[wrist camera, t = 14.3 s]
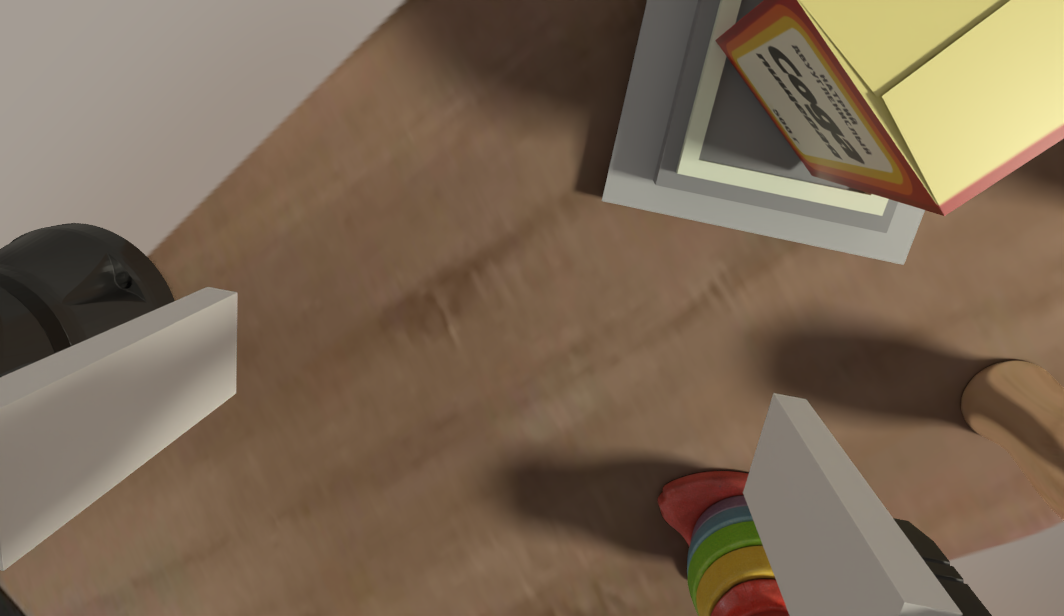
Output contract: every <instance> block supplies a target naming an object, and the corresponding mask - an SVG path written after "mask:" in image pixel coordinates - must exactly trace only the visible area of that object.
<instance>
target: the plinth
mask: <svg viewBox="0 0 1064 616" xmlns="http://www.w3.org/2000/svg"><path fill="white" fill-rule="evenodd" d="M762 1H763V0H647V3H646V7H645V12H644V16H643V21H642V25H641V30H640V34H639V38H638V43H637V47H636V52H635V56H634V61H633V65H632V69H631V74H630V78H629V83H628V87H627V92H626V96H625V100H624V105H623V109H622V114H621V118H620V122H619V127H618V131H617V136H616V140H615V145H614V149H613V153H612V158H611V162H610V167H609V171H608V176H607V180H606V184H605V189H604V193H603V198H602V201H605V202H609V203H614V204H619V205H624V206H628V207H633V208H638V209H642V210H647V211H652V212H657V213H661V214H666V215H671V216H675V217H680V218H685V219H690V220H694V221H699V222H704V223H708V224H713V225H718V226H723V227H727V228H732V229H737V230H742V231H746V232H751V233H756V234H760V235H765V236H770V237H775V238H779V239H784V240H789V241H793V242H798V243H803V244H808V245H812V246H817V247H822V248H826V249H831V250H836V251H841V252H845V253H850V254H855V255H859V256H864V257H869V258H874V259H878V260H883V261H888V262H892V263H897V264H902V265H904V263H905V260H906V257H907V255H908V252H909V250H910V247H911V245H912V242H913V240H914V237H915V234H916V232H917V229H918V227H919V224H920V222H921V219H922V216H923V214H924V211H925V210H923V209H920V208H917V207H913V206H910V205H907V204H903V203H900V202H897V201H893V200H890V199H887V198H884V197H880V196H877V195H874V194H870V193H867V192H864V191H861V190H857V189H854V188H851V187H847V186H844V185H841V184H837V183H834V182H831V181H828V180H824V179H821V178H818V177H814V176H812V175H811V174H810V172H809V171H808V170H807V168H806V167H805V165H804V164H803V163H802V161H801V160H800V158H799V157H798V156H797V154H796V153H795V151H794V150H793V149H792V147H791V146H790V144H789V143H788V142H787V140H786V139H785V137H784V136H783V135H782V133H781V132H780V130H779V129H778V128H777V126H776V125H775V123H774V122H773V121H772V119H771V118H770V116H769V115H768V114H767V112H766V111H765V109H764V108H763V107H762V105H761V104H760V102H759V101H758V100H757V98H756V97H755V95H754V94H753V93H752V91H751V90H750V88H749V87H748V86H747V84H746V83H745V81H744V80H743V79H742V77H741V76H740V74H739V73H738V72H737V70H736V69H735V67H734V66H733V64H732V63H731V62H730V60H729V59H728V57H727V56H726V55H725V53H724V52H723V50H722V49H721V48H720V46H719V45H718V43H717V42H716V41H715V40H716V39H717V38H719V37H720V36H721V35H722V34H723V33H725V32H726V31H727V30H728V29H730V28H731V27H732V26H733V25H734V24H736V23H737V22H738V21H739V20H740V19H742V18H743V17H744V16H745V15H747V14H748V13H749V12H750V11H751V10H753V9H754V8H755V7H756V6H757V5H759V4H760V3H761V2H762Z"/></svg>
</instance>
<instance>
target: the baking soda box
mask: <svg viewBox="0 0 1064 616" xmlns="http://www.w3.org/2000/svg"><path fill="white" fill-rule="evenodd" d="M715 41H716V42H717V43H718V45H719V46H720V48H721V49H722V50H723V52H724V53H725V55H726V56H727V57H728V59H729V60H730V62H731V63H732V64H733V66H734V67H735V69H736V70H737V72H738V73H739V74H740V76H741V77H742V79H743V80H744V81H745V83H746V84H747V86H748V87H749V88H750V90H751V91H752V93H753V94H754V95H755V97H756V98H757V100H758V101H759V102H760V104H761V105H762V107H763V108H764V109H765V111H766V112H767V114H768V115H769V116H770V118H771V119H772V121H773V122H774V123H775V125H776V126H777V128H778V129H779V130H780V132H781V133H782V135H783V136H784V137H785V139H786V140H787V142H788V143H789V144H790V146H791V147H792V149H793V150H794V151H795V153H796V154H797V156H798V157H799V158H800V160H801V161H802V163H803V164H804V165H805V167H806V168H807V170H808V171H809V172H810V174H811V175H812V176H814V177H818V178H821V179H824V180H828V181H831V182H834V183H837V184H841V185H844V186H847V187H851V188H854V189H857V190H861V191H864V192H867V193H870V194H874V195H877V196H880V197H884V198H887V199H890V200H893V201H897V202H900V203H903V204H907V205H910V206H913V207H917V208H920V209H923V210H926V211H930V212H933V213H936V214H940V215H943V216H945V215H947V214H948V213H950V212H951V211H953V210H954V209H956V208H957V207H959V206H961V205H962V204H964V203H965V202H967V201H968V200H970V199H971V198H973V197H974V196H976V195H977V194H979V193H981V192H982V191H984V190H985V189H987V188H988V187H990V186H991V185H993V184H994V183H996V182H997V181H999V180H1001V179H1002V178H1004V177H1005V176H1007V175H1008V174H1010V173H1011V172H1013V171H1014V170H1016V169H1017V168H1019V167H1021V166H1022V165H1024V164H1025V163H1027V162H1028V161H1030V160H1031V159H1033V158H1034V157H1036V156H1037V155H1039V154H1041V153H1042V152H1044V151H1045V150H1047V149H1048V148H1050V147H1051V146H1053V145H1054V144H1056V143H1057V142H1059V141H1060V140H1062V139H1064V0H763V1H762V2H761V3H760V4H759V5H757V6H756V7H755V8H754V9H753V10H751V11H750V12H749V13H748V14H747V15H745V16H744V17H743V18H742V19H740V20H739V21H738V22H737V23H736V24H734V25H733V26H732V27H731V28H730V29H728V30H727V31H726V32H725V33H723V34H722V35H721V36H720V37H719V38H717V39H716V40H715Z"/></svg>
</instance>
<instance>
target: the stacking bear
mask: <svg viewBox="0 0 1064 616" xmlns="http://www.w3.org/2000/svg"><path fill="white" fill-rule="evenodd" d="M748 475H749V474H748V473H742V472H733V471H711V472H702V473H697V474H692V475H688V476H685V477H682V478H679V479H676V480H674V481H671V482H669V483H668V484H666V485H665V486H664V487H663V492H662V493H661V494H660V495H659V497H658V504H659V507H660V508H661V514H662V516H663V518H664V519H665V520H666V521H667V522H668V524H669V525H671V526H672V527H673V528H674V529H676V530H677V531H678V532H679V533H680V534H681V535H682V536H683V537H684V539H685V540H686V542H687V543H688V546H689V551H688V559H687V577H688V587H689V591H690V595H691V598H692V601H693V604H694V607H695V609H696V611H697V614H698V616H790V615H789V613H788V610H787V608H786V605H785V602H784V600H783V597H782V594H781V592H780V589H779V587H778V584H777V581H776V579H775V576H774V573H773V571H772V568H771V565H770V563H769V560H768V558H767V555H766V552H765V550H764V547H763V544H762V542H761V539H760V536H759V534H758V531H757V529H756V526H755V523H754V521H753V518H752V515H751V513H750V510H749V507H748V505H747V502H746V500H745V497H744V494H743V491H744V488H745V484H746V481H747V478H748Z"/></svg>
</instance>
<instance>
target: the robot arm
mask: <svg viewBox="0 0 1064 616" xmlns="http://www.w3.org/2000/svg"><path fill="white" fill-rule="evenodd" d="M236 359H237V292H232V291H227V290H222V289H216V288H211V287H206V288H204V289H202V290H199V291H197V292H195V293H192V294H190V295H188V296H186V297H183V298H181V299H179V300H176V301H174V298H173V296H172V293H171V291H170V289H169V287H168V285H167V283H166V281H165V280H164V278H163V277H162V275H161V274H160V272H159V271H158V269H157V268H156V267H155V265H154V264H153V263H152V262H151V261H150V260H149V259H148V258H147V257H146V256H145V255H144V254H143V253H142V252H141V251H140V250H139V249H138V248H137V247H135V246H134V245H133V244H131V243H130V242H129V241H127V240H126V239H124V238H122V237H120V236H119V235H117V234H115V233H113V232H111V231H108V230H106V229H103V228H100V227H97V226H93V225H88V224H79V223H77V224H76V223H71V224H62V225H57V226H51V227H46V228H41V229H38V230H34V231H31V232H28V233H26V234H24V235H21V236H20V237H18V238H16V239H15V240H13V241H12V242H11V243H10V244H8V245H6V246H5V247H3V248H1V249H0V570H2V571H4V570H5V569H7V568H8V567H9V566H11V565H12V564H13V563H15V562H16V561H17V560H19V559H20V558H21V557H22V556H24V555H25V554H26V553H28V552H29V551H30V550H32V549H33V548H34V547H36V546H37V545H38V544H39V543H41V542H42V541H43V540H45V539H46V538H47V537H49V536H50V535H51V534H53V533H54V532H55V531H56V530H58V529H59V528H60V527H62V526H63V525H64V524H66V523H67V522H68V521H70V520H71V519H72V518H73V517H75V516H76V515H77V514H79V513H80V512H81V511H83V510H84V509H85V508H87V507H88V506H89V505H91V504H92V503H93V502H94V501H96V500H97V499H98V498H100V497H101V496H102V495H104V494H105V493H106V492H108V491H109V490H110V489H111V488H113V487H114V486H115V485H117V484H118V483H119V482H121V481H122V480H123V479H125V478H126V477H127V476H128V475H130V474H131V473H132V472H134V471H135V470H136V469H138V468H139V467H140V466H142V465H143V464H144V463H145V462H147V461H148V460H149V459H151V458H152V457H153V456H155V455H156V454H157V453H159V452H160V451H161V450H163V449H164V448H165V447H166V446H168V445H169V444H170V443H172V442H173V441H174V440H176V439H177V438H178V437H180V436H181V435H182V434H183V433H185V432H186V431H187V430H189V429H190V428H191V427H193V426H194V425H195V424H197V423H198V422H199V421H200V420H202V419H203V418H204V417H206V416H207V415H208V414H210V413H211V412H212V411H214V410H215V409H216V408H217V407H219V406H220V405H221V404H223V403H224V402H225V401H227V400H228V399H229V398H231V397H232V396H233V395H234V394H236ZM743 494H744V497H745V500H746V502H747V505H748V507H749V510H750V513H751V515H752V518H753V521H754V523H755V526H756V529H757V531H758V534H759V536H760V539H761V542H762V544H763V547H764V550H765V552H766V555H767V558H768V560H769V563H770V565H771V568H772V571H773V573H774V576H775V579H776V581H777V584H778V587H779V589H780V592H781V594H782V597H783V600H784V602H785V605H786V608H787V610H788V613H789V615H790V616H992V615H991V614H990V613H989V611H988V610H987V609H986V608H985V606H984V605H983V604H982V603H981V601H980V600H979V599H978V597H977V596H976V595H975V594H974V592H973V591H972V590H971V589H970V587H969V586H968V585H967V584H964V583H963V578H962V577H961V576H960V574H959V573H958V572H957V571H956V569H955V568H954V567H953V566H950V562H949V560H948V559H947V558H946V557H945V555H944V554H943V553H942V551H941V550H940V549H939V548H938V546H937V545H936V544H935V543H934V541H932V540H931V539H930V538H929V537H927V536H926V535H925V534H924V533H922V532H921V531H920V530H919V529H917V528H916V527H915V526H914V525H912V524H911V523H910V522H909V521H905V520H900V519H895V518H892V516H891V515H890V513H889V512H888V511H887V509H886V508H885V507H884V505H883V504H882V502H881V501H880V500H879V498H878V497H877V496H876V494H875V493H874V491H873V490H872V489H871V487H870V486H869V485H868V483H867V482H866V480H865V479H864V478H863V476H862V475H861V474H860V472H859V471H858V469H857V468H856V467H855V465H854V464H853V463H852V461H851V460H850V459H849V457H848V456H847V454H846V453H845V452H844V450H843V449H842V448H841V446H840V445H839V443H838V442H837V441H836V439H835V438H834V437H833V435H832V434H831V432H830V431H829V430H828V428H827V427H826V426H825V424H824V423H823V421H822V420H821V419H820V417H819V416H818V415H817V413H816V412H815V410H814V409H813V408H812V406H811V405H810V404H809V402H808V401H807V399H803V398H797V397H792V396H787V395H781V394H776V393H773V396H772V400H771V403H770V406H769V409H768V413H767V416H766V419H765V422H764V426H763V429H762V432H761V435H760V439H759V442H758V445H757V448H756V452H755V455H754V458H753V462H752V465H751V468H750V471H749V475H748V478H747V481H746V484H745V488H744V491H743Z"/></svg>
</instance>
